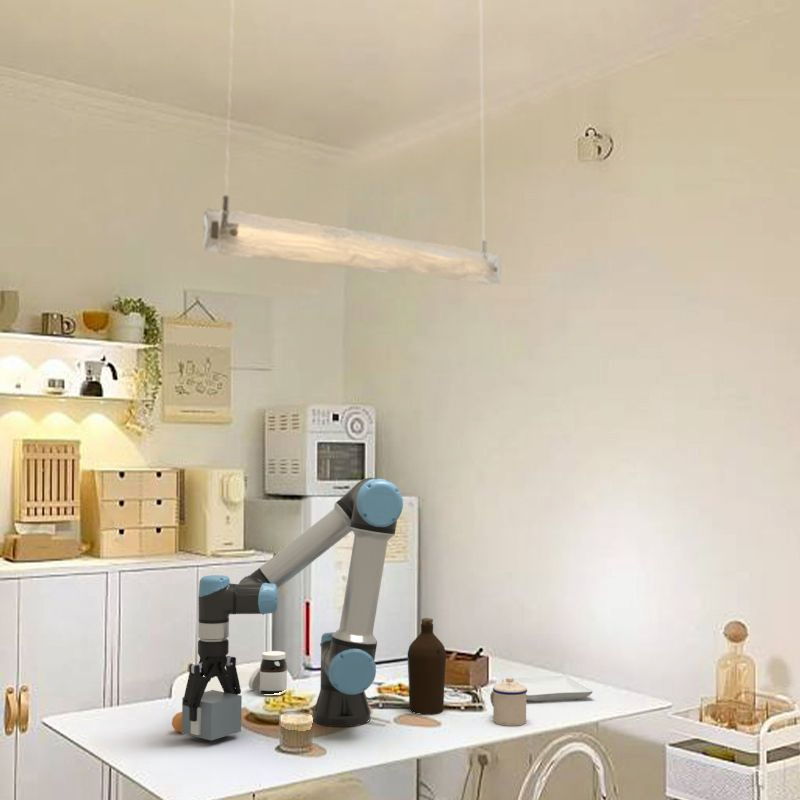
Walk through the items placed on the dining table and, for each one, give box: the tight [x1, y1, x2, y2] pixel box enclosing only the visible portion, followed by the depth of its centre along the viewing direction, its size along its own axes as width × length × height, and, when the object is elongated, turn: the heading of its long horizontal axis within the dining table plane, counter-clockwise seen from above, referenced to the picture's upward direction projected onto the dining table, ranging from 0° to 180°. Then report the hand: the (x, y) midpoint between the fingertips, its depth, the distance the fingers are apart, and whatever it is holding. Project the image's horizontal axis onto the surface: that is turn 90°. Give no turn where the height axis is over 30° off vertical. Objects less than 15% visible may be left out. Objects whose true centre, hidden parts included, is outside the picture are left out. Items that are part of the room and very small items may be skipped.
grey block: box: [181, 689, 243, 741], centre depth 263 cm, size 10×10×9 cm
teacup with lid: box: [489, 676, 527, 727], centre depth 283 cm, size 12×9×12 cm
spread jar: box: [248, 650, 288, 695], centre depth 313 cm, size 12×11×12 cm
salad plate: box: [501, 675, 594, 702], centre depth 314 cm, size 21×21×3 cm
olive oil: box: [407, 617, 447, 715], centre depth 294 cm, size 11×11×25 cm
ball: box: [171, 711, 182, 733], centre depth 269 cm, size 5×5×5 cm
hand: (212, 729), depth 263 cm, fingers closed on grey block, 10 cm apart
